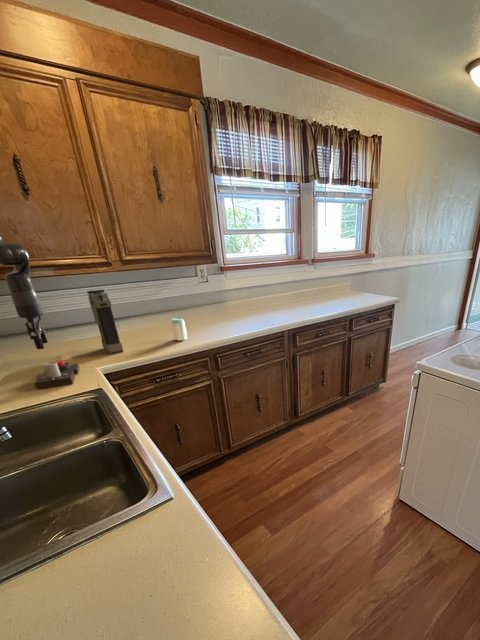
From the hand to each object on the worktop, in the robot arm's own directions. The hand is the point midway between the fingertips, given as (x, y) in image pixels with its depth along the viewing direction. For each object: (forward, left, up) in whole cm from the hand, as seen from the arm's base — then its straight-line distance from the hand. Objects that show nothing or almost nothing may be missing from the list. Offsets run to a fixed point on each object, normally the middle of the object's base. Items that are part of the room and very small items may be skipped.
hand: (42, 345), depth 126 cm
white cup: (0, 0, -13) cm, 13 cm away
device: (+21, +37, -16) cm, 46 cm away
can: (+56, +40, -16) cm, 71 cm away
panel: (0, 0, -16) cm, 16 cm away
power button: (+1, +11, -12) cm, 17 cm away
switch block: (+1, +11, -16) cm, 19 cm away
